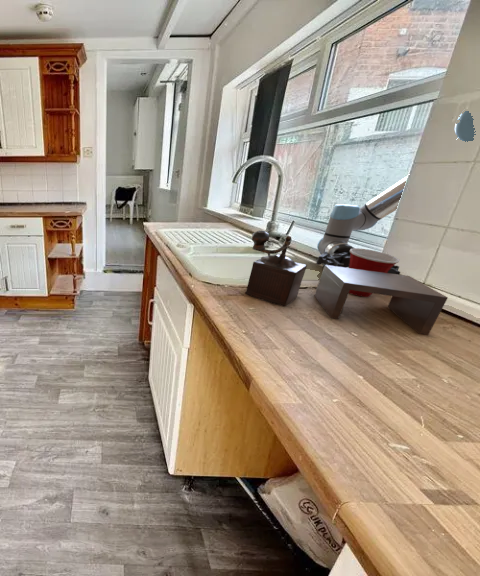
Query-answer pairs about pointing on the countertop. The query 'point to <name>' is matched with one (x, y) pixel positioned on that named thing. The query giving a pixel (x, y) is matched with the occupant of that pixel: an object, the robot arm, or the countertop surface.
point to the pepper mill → (274, 273)
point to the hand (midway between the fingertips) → (366, 272)
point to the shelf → (404, 290)
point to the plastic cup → (370, 263)
